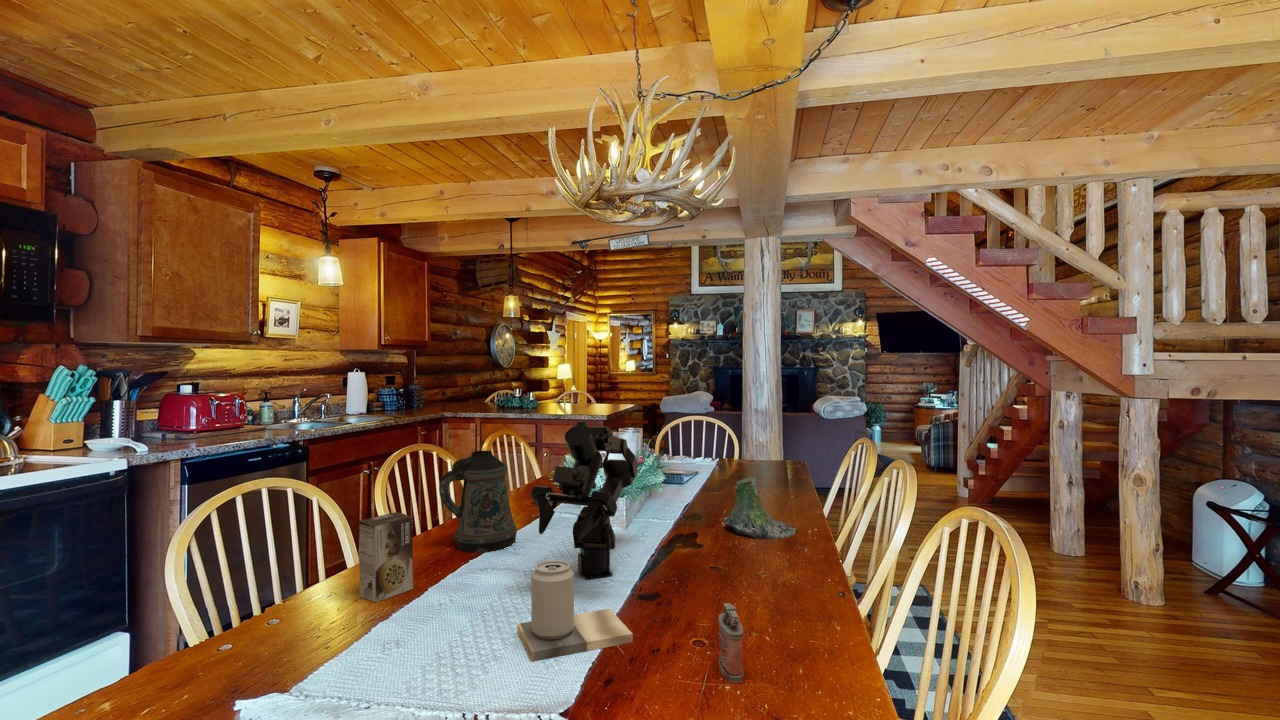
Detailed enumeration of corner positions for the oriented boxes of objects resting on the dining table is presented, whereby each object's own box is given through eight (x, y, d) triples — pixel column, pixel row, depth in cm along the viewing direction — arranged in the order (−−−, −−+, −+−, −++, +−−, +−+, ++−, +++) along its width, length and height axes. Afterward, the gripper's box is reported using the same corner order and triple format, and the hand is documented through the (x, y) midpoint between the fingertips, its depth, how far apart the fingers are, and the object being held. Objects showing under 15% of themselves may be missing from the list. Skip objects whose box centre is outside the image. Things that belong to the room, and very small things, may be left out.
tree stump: (799, 543, 170) (783, 480, 170) (728, 556, 174) (712, 494, 174) (795, 522, 188) (781, 465, 188) (730, 535, 192) (716, 479, 192)
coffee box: (396, 583, 139) (396, 511, 139) (414, 589, 135) (413, 515, 135) (357, 596, 132) (357, 520, 132) (375, 603, 128) (375, 524, 128)
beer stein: (529, 541, 172) (529, 450, 171) (476, 560, 155) (475, 459, 155) (486, 532, 180) (486, 445, 180) (431, 549, 164) (431, 454, 164)
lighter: (715, 657, 104) (715, 598, 104) (735, 657, 105) (735, 597, 105) (725, 682, 96) (725, 618, 96) (747, 681, 97) (747, 617, 97)
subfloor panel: (609, 616, 121) (609, 608, 121) (632, 642, 110) (632, 633, 110) (517, 632, 114) (517, 623, 114) (531, 661, 103) (531, 651, 103)
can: (574, 622, 115) (574, 557, 115) (573, 640, 107) (573, 571, 107) (533, 623, 114) (533, 558, 114) (529, 642, 107) (529, 572, 107)
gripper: (534, 448, 137) (505, 510, 127) (611, 453, 130) (587, 519, 120) (552, 478, 144) (526, 538, 134) (626, 484, 137) (605, 548, 127)
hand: (559, 535), depth 129 cm, fingers open, 9 cm apart
